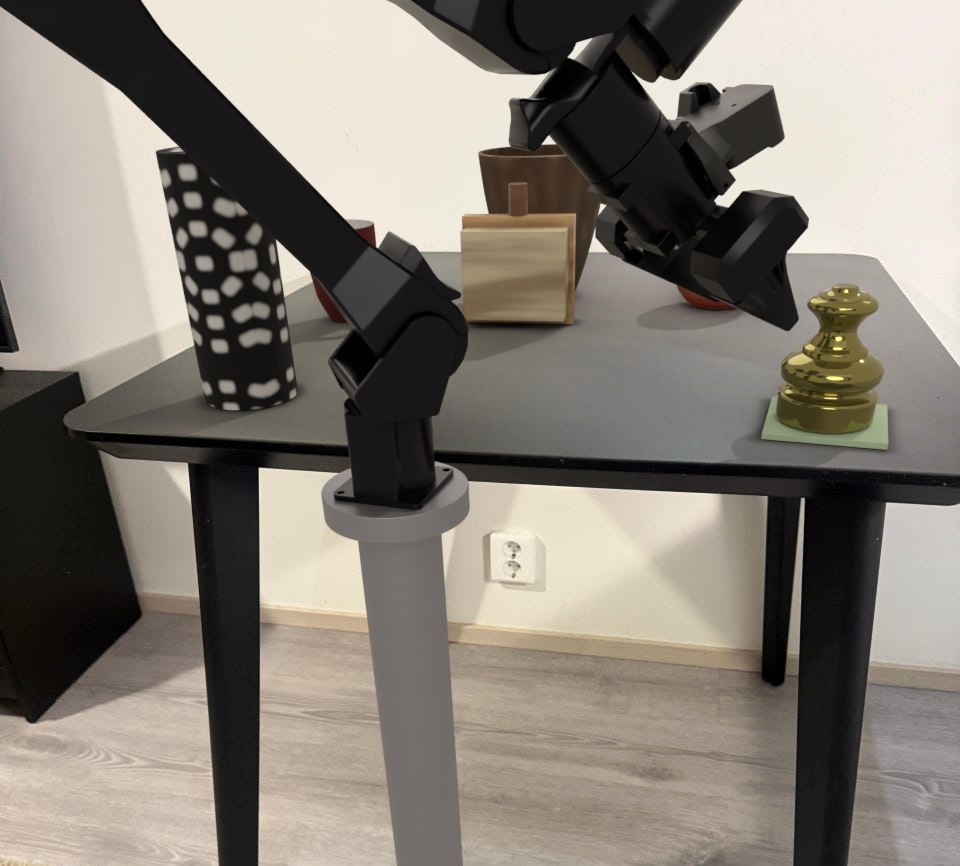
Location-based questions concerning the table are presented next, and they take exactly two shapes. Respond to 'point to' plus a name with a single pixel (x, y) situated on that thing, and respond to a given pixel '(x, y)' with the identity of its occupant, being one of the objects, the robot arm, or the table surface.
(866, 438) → the mat
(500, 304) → the wooden napkin holder
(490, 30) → the robot arm
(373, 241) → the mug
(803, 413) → the brass chess piece
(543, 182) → the flower pot
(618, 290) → the table surface
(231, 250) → the spotted tube
